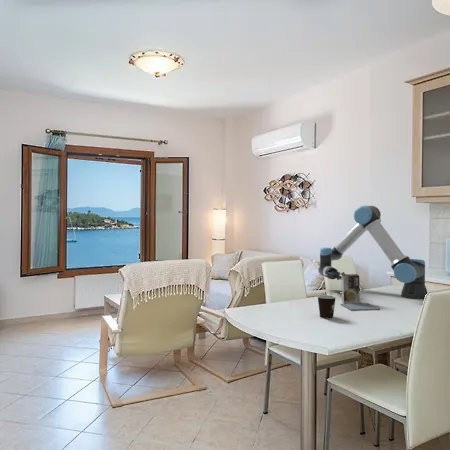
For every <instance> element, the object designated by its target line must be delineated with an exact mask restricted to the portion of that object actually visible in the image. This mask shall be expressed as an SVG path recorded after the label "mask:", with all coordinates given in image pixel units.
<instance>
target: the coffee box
mask: <svg viewBox="0 0 450 450" xmlns="http://www.w3.org/2000/svg"><path fill="white" fill-rule="evenodd" d="M360 298H361V296H360V275H359V274H356V273H352V274H351V273H348V274H347V273H345V274H342V280H341V302H342V304H353V303H361V302H360V301H361V299H360Z"/></svg>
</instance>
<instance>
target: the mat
mask: <svg viewBox="0 0 450 450" xmlns="http://www.w3.org/2000/svg"><path fill="white" fill-rule="evenodd" d="M340 306H342V307H344V308H345V309H347V310H349V311H351V312H352V311H354V312H355V311H380V310H381V308H380V307H377V306H375V305H373V304H371V303H369V302H360V303H353V304H348V303H345V304H344V303H340Z"/></svg>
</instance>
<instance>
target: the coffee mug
mask: <svg viewBox="0 0 450 450" xmlns="http://www.w3.org/2000/svg"><path fill="white" fill-rule="evenodd" d="M336 298H337V297H336V296H333V295H330V294H329V295H328V294H322V295H318V296H317V304H318V312H319V318H321V319H333V318H334V314H335V313H334V312H335V305H336Z"/></svg>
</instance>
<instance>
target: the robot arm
mask: <svg viewBox="0 0 450 450" xmlns="http://www.w3.org/2000/svg"><path fill="white" fill-rule="evenodd" d="M353 219H354V222H356V224H355V225H354V226H353V227H352V229H350V230H349V231H348V232H347V233H346V234H345V235H344V236H343V237H342V239H340V240H339V241H338V243H336V244H335V246H333V248H331V247H321V248H320V249H319V266H318V268H317V271H318V273H319V274H320V276H322V277H326V278H327V279H328V280H329V279H330V280H335V279H336V281H339V280H341V281H342V274H346V273H345V272H340V271H338V269H337V268H336V267H335V268H334V267H332V261H339V260H340V259H342V258H343V254H344V253H345V252H347V251H348V249H349V248H350V247H351V246H353V245H354V244H355V242H356V241H358V240H359V239H360V237H362V236H363V235H364V233H366V232H369V234H370V235H371V237H373V238H372V239H374V241H375V242H376V243H377V245H378V246H379V248H380V249H381V250H382V252H383V253H384V255H385V256H386V257H387V260H389V262H390V263H391V264H390V268H391V269H392V270H393V276H394V278H395V279H396V280H397V281H398V282H400V283H403V286H402V289H401V293H400V295H401V297H403V298H408V299H418V300H420V299H425V298H424V297H425V295H426V294H427V293H428V292H429V291H428V290H427V286H426V262H425V260H424V259H417V258H416V259H414V258H410V257H409V256H408V255H406V254H404V253H403V252H402V250H401V249H400V247H399V246H398V245H397V243H396V242H395V241H394V240H393V238H392V237H391V235H390V234H389V233H388V231H387V230H386V229H385V227H384V226H383V225H382V219H381V210H380V209H379V208H378V207H377V206H374V205H365V204H364V205H360V206H358V207H357V208H356V209H355V211H354V212H353ZM428 294H429V293H428Z"/></svg>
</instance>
